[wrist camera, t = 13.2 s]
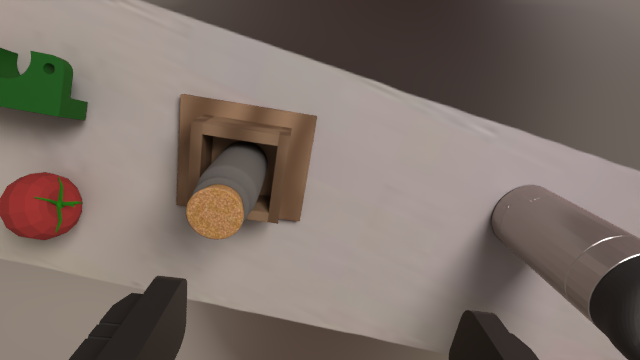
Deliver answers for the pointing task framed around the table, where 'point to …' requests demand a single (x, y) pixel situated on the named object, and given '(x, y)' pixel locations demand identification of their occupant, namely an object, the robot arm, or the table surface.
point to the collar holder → (254, 126)
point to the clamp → (39, 86)
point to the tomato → (40, 206)
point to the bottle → (227, 190)
